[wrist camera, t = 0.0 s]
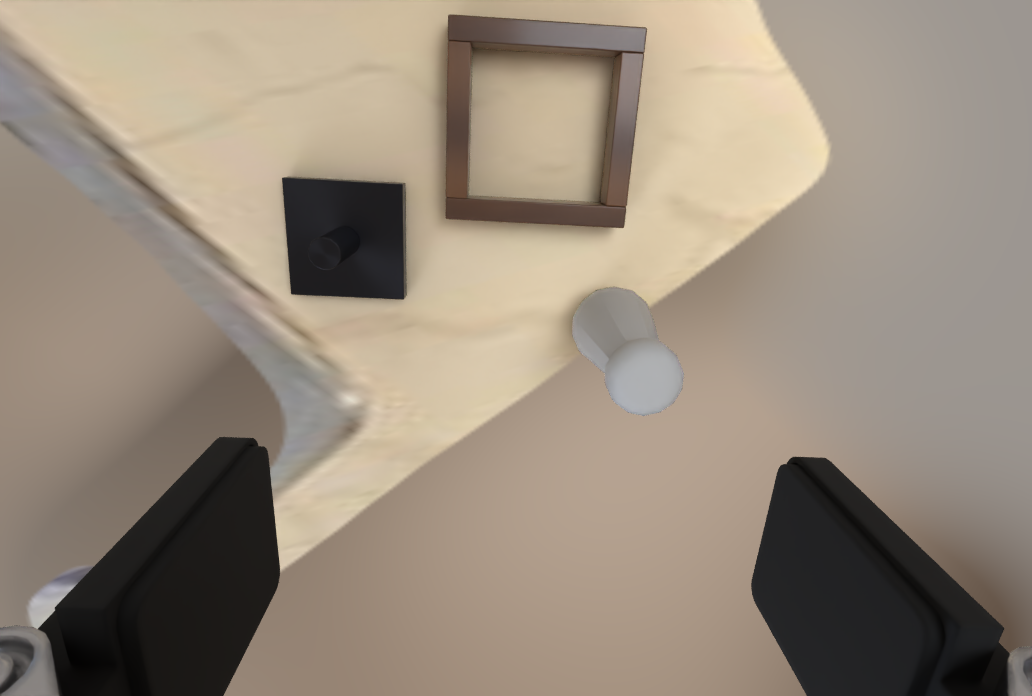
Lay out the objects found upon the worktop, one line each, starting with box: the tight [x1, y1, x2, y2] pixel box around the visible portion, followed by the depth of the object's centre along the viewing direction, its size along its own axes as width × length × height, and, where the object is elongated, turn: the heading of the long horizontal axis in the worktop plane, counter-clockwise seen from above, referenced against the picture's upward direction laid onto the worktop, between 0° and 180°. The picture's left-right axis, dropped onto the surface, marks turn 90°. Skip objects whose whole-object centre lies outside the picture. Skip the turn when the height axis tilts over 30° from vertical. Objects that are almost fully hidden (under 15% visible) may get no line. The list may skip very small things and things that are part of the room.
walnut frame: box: [446, 15, 647, 228], centre depth 37 cm, size 12×12×2 cm
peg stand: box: [282, 177, 407, 299], centre depth 38 cm, size 8×8×6 cm
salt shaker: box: [573, 287, 684, 416], centre depth 37 cm, size 6×6×13 cm
